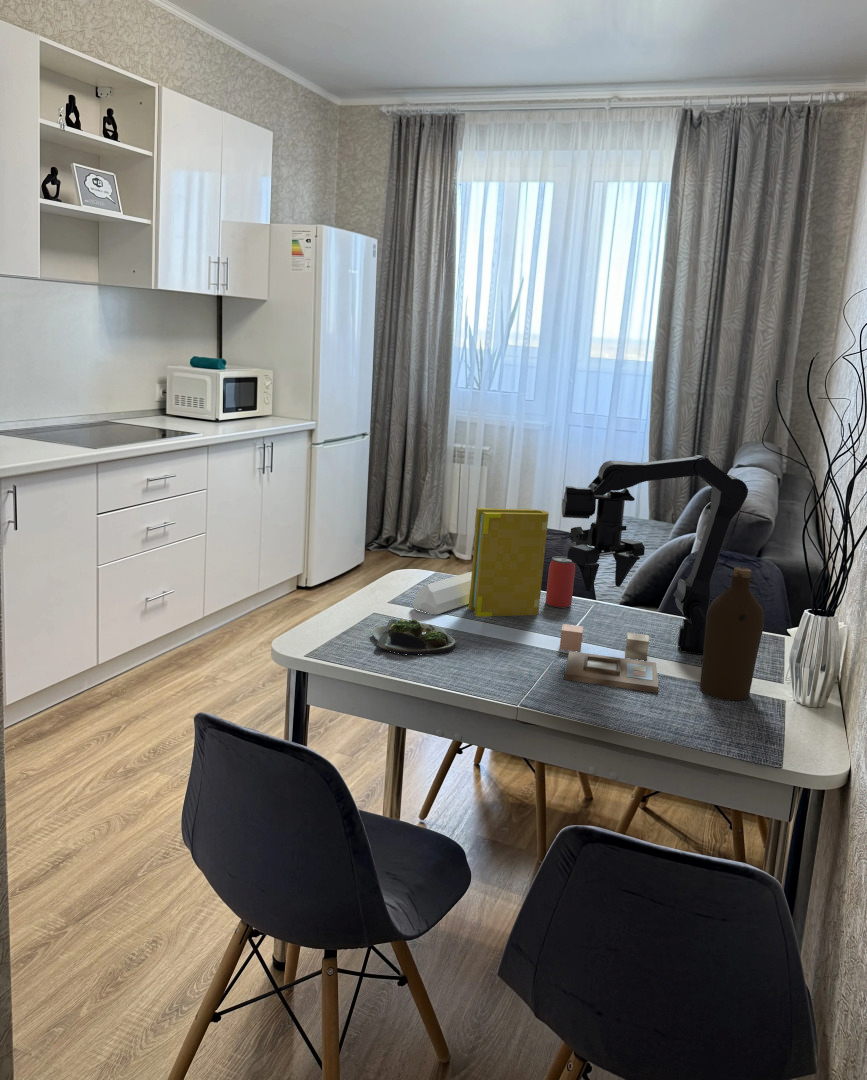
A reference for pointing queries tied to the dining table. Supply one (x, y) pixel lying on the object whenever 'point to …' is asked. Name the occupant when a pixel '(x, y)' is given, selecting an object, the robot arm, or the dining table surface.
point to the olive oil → (732, 640)
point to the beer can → (560, 582)
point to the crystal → (444, 594)
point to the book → (508, 561)
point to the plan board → (612, 671)
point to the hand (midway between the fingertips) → (603, 588)
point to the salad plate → (413, 638)
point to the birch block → (637, 646)
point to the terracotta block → (571, 637)
